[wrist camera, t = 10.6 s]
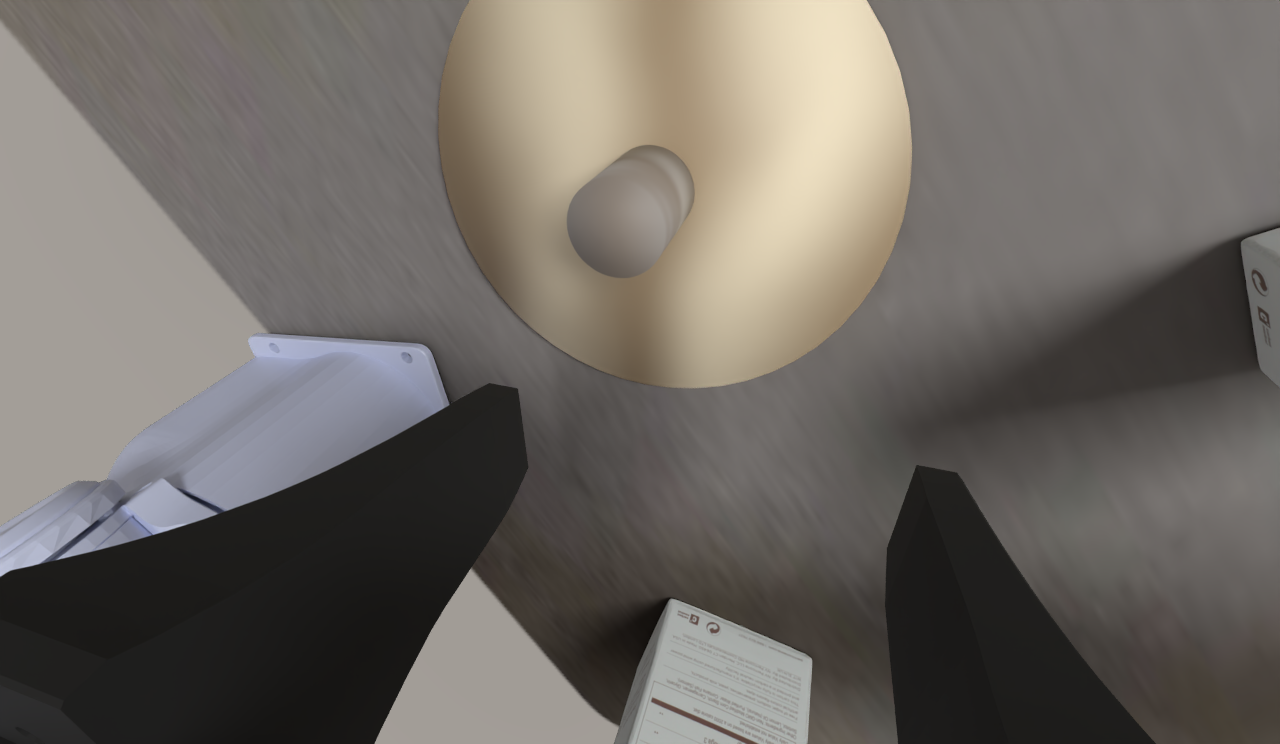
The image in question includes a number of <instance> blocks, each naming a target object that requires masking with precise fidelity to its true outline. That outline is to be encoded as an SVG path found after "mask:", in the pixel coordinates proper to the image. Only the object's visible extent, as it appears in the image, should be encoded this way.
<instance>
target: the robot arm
mask: <svg viewBox="0 0 1280 744" xmlns="http://www.w3.org/2000/svg"><path fill="white" fill-rule="evenodd" d="M248 343H249V346H250V348H251V350H252V352H253V354H254V355H255V358H253V359H252V360H250V361H249V362H247V363H246V364H244V365H243V366H241V367H240V368H238V369H237V370H235V371H233V372H232V373H230V374H229V375H227V376H226V377H224V378H223V379H221V380H220V381H218V382H217V383H215V384H213V385H212V386H210V387H209V388H207V389H206V390H204V391H203V392H201V393H200V394H198V395H196V396H195V397H193V398H192V399H190V400H189V401H187V402H186V403H184V404H183V405H181V406H180V407H178V408H176V409H175V410H173V411H172V412H170V413H169V414H167V415H166V416H164V417H163V418H161V419H160V420H158V421H156V422H155V423H153V424H152V425H150V426H149V427H147V428H146V429H144V430H143V431H142V432H141V433H139V434H138V435H137V436H136V437H134V438H133V439H132V440H131V441H130V442H129V443H128V445H127V446H126V447H125V448H124V449H123V451H122V452H121V453H120V455H119V456H118V458H117V460H116V461H115V463H114V465H113V467H112V469H111V471H110V473H109V475H108V478H107V480H104V481H101V482H99V483H98V482H96V481H76V482H74V483H72V484H70V485H68V486H66V487H64V488H62V489H61V490H59V491H57V492H55V493H54V494H52V495H50V496H48V497H47V498H45V499H43V500H42V501H40V502H38V503H37V504H35V505H34V506H32V507H30V508H29V509H27V510H25V511H24V512H22V513H21V514H19V515H17V516H16V517H14V518H13V519H11V520H9V521H8V522H6V523H5V524H3V525H1V526H0V744H374V743H375V741H376V739H377V736H378V734H379V732H380V730H381V728H382V726H383V724H384V722H385V720H386V718H387V716H388V714H389V712H390V710H391V708H392V706H393V704H394V702H395V700H396V698H397V696H398V694H399V691H400V690H401V688H402V685H403V683H404V681H405V679H406V677H407V675H408V673H409V672H410V670H411V668H412V666H413V664H414V662H415V660H416V658H417V656H418V654H419V653H420V651H421V649H422V647H423V645H424V643H425V641H426V639H427V637H428V635H429V633H430V632H431V630H432V628H433V626H434V625H435V623H436V621H437V620H438V618H439V616H440V615H441V613H442V611H443V610H444V608H445V606H446V605H447V603H448V602H449V600H450V599H451V597H452V596H453V594H454V593H455V591H456V590H457V588H458V587H459V585H460V584H461V582H462V581H463V579H464V578H465V576H466V575H467V573H468V572H469V570H470V569H471V567H472V566H473V564H474V562H475V561H476V559H477V558H478V556H479V555H480V553H481V552H482V550H483V549H484V547H485V546H486V544H487V543H488V541H489V540H490V538H491V537H492V535H493V533H494V532H495V530H496V529H497V527H498V526H499V524H500V523H501V521H502V519H503V518H504V516H505V515H506V513H507V511H508V509H509V507H510V505H511V503H512V501H513V499H514V497H515V495H516V493H517V491H518V489H519V487H520V485H521V482H522V480H523V478H524V476H525V474H526V472H527V469H528V461H527V454H526V447H525V439H524V432H523V424H522V417H521V409H520V402H519V394H518V389H517V388H512V387H506V386H501V385H496V384H491V383H489V384H487V385H485V386H483V387H481V388H479V389H477V390H475V391H473V392H472V393H470V394H468V395H466V396H464V397H463V398H461V399H459V400H457V401H455V402H454V403H452V404H450V405H449V402H448V399H447V396H446V393H445V390H444V387H443V384H442V381H441V378H440V375H439V372H438V369H437V367H436V364H435V361H434V358H433V355H432V353H431V351H430V350H429V349H428V348H427V347H426V346H424V345H422V344H418V343H403V342H387V341H372V340H357V339H342V338H327V337H311V336H296V335H281V334H266V333H256V334H254V335H252V336H251V337H250V338H249V339H248ZM408 354H410V355H411V357H410V356H409V355H408ZM885 607H886V619H887V630H888V641H889V652H890V662H891V673H892V683H893V693H894V704H895V714H896V725H897V735H898V744H1156V743H1155V742H1154V741H1153V740H1152V739H1151V738H1150V737H1149V736H1148V735H1147V733H1146V732H1145V731H1144V730H1143V729H1142V728H1141V727H1140V726H1139V724H1138V723H1137V722H1136V721H1135V720H1134V719H1133V717H1132V716H1131V715H1130V714H1129V713H1128V712H1127V710H1126V709H1125V708H1124V707H1123V706H1122V705H1121V703H1120V702H1119V701H1118V700H1117V699H1116V698H1115V697H1114V695H1113V694H1112V693H1111V692H1110V691H1109V690H1108V688H1107V687H1106V686H1105V685H1104V684H1103V683H1102V681H1101V680H1100V679H1099V678H1098V677H1097V675H1096V674H1095V673H1094V672H1093V670H1092V669H1091V668H1090V667H1089V665H1088V664H1087V663H1086V662H1085V660H1084V659H1083V658H1082V657H1081V655H1080V654H1079V653H1078V651H1077V650H1076V649H1075V648H1074V646H1073V645H1072V644H1071V642H1070V641H1069V640H1068V638H1067V637H1066V636H1065V634H1064V633H1063V632H1062V630H1061V629H1060V628H1059V626H1058V625H1057V624H1056V622H1055V621H1054V620H1053V618H1052V617H1051V616H1050V614H1049V613H1048V611H1047V610H1046V609H1045V607H1044V606H1043V604H1042V603H1041V602H1040V600H1039V599H1038V597H1037V596H1036V595H1035V593H1034V592H1033V590H1032V589H1031V587H1030V586H1029V584H1028V583H1027V581H1026V580H1025V578H1024V577H1023V575H1022V574H1021V573H1020V571H1019V570H1018V568H1017V567H1016V565H1015V564H1014V562H1013V561H1012V559H1011V558H1010V556H1009V555H1008V553H1007V552H1006V550H1005V549H1004V547H1003V546H1002V544H1001V542H1000V541H999V539H998V538H997V536H996V534H995V533H994V531H993V530H992V528H991V526H990V525H989V523H988V522H987V520H986V518H985V517H984V515H983V514H982V512H981V510H980V509H979V507H978V505H977V504H976V502H975V500H974V499H973V497H972V495H971V494H970V492H969V490H968V489H967V487H966V485H965V484H964V482H963V481H962V479H961V478H960V476H959V475H958V474H957V473H955V472H950V471H945V470H940V469H935V468H929V467H924V466H919V465H917V466H916V468H915V471H914V474H913V477H912V480H911V482H910V485H909V488H908V491H907V494H906V497H905V499H904V502H903V505H902V508H901V511H900V513H899V516H898V519H897V522H896V525H895V527H894V530H893V533H892V536H891V539H890V541H889V544H888V547H887V564H886V598H885Z"/></svg>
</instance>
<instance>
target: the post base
mask: <svg viewBox="0 0 1280 744" xmlns="http://www.w3.org/2000/svg"><path fill="white" fill-rule="evenodd" d="M438 138H439V147H440V156H441V165H442V171H443V175H444V180H445V184H446V189H447V193H448V197H449V200H450V203H451V206H452V209H453V212H454V215H455V218H456V221H457V223H458V226H459V228H460V230H461V232H462V234H463V237H464V239H465V241H466V243H467V245H468V248H469V249H470V251H471V253H472V255H473V256H474V258H475V260H476V262H477V263H478V265H479V267H480V268H481V270H482V272H483V273H484V275H485V276H486V277H487V279H488V280H489V281H490V283H491V284H492V286H493V287H494V288H495V290H496V291H497V293H498V294H499V295H500V296H501V297H502V298H503V299H504V301H505V302H506V303H507V304H508V305H509V306H510V307H511V309H512V310H513V311H514V312H515V313H516V314H517V315H518V316H519V317H520V318H521V319H522V320H524V321H525V322H526V323H527V324H528V325H529V326H530V327H531V328H532V329H533V330H534V331H536V332H537V333H538V334H540V335H541V336H542V337H544V338H545V339H546V340H547V341H549V342H550V343H551V344H553V345H554V346H556V347H557V348H559V349H560V350H562V351H564V352H565V353H567V354H569V355H570V356H572V357H573V358H575V359H577V360H579V361H581V362H583V363H585V364H587V365H589V366H591V367H593V368H596V369H598V370H600V371H603V372H606V373H608V374H611V375H614V376H617V377H619V378H622V379H626V380H630V381H634V382H638V383H642V384H647V385H654V386H662V387H669V388H705V387H716V386H724V385H728V384H733V383H738V382H743V381H747V380H750V379H753V378H756V377H759V376H762V375H765V374H768V373H771V372H773V371H775V370H777V369H779V368H781V367H783V366H785V365H787V364H789V363H791V362H794V361H795V360H797V359H799V358H800V357H802V356H803V355H805V354H806V353H808V352H809V351H811V350H812V349H814V348H816V347H817V346H819V345H820V344H821V343H822V342H823V341H824V340H826V339H827V338H828V337H829V336H830V335H832V334H833V333H834V332H835V331H836V330H837V329H839V328H840V327H841V326H842V325H843V323H844V322H845V321H846V320H847V319H848V318H849V317H850V316H851V315H852V314H853V312H854V311H855V310H856V309H857V308H858V307H859V306H860V305H861V303H862V302H863V300H864V299H865V297H866V296H867V294H868V293H869V292H870V290H871V289H872V287H873V286H874V284H875V283H876V281H877V280H878V278H879V276H880V274H881V272H882V270H883V268H884V266H885V264H886V262H887V260H888V258H889V256H890V254H891V252H892V250H893V247H894V244H895V241H896V239H897V236H898V233H899V230H900V227H901V224H902V221H903V218H904V213H905V208H906V203H907V198H908V193H909V188H910V177H911V160H912V140H911V128H910V116H909V108H908V104H907V99H906V95H905V91H904V86H903V82H902V77H901V73H900V70H899V67H898V65H897V62H896V60H895V57H894V54H893V52H892V49H891V47H890V44H889V41H888V39H887V36H886V34H885V32H884V30H883V28H882V26H881V25H880V23H879V21H878V19H877V18H876V16H875V14H874V12H873V11H872V9H871V7H870V5H869V3H868V2H867V0H470V1H469V3H468V5H467V7H466V8H465V10H464V12H463V14H462V16H461V18H460V21H459V23H458V26H457V28H456V31H455V34H454V36H453V39H452V41H451V44H450V47H449V51H448V55H447V59H446V63H445V67H444V71H443V75H442V83H441V91H440V99H439V125H438Z"/></svg>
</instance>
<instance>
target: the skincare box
mask: <svg viewBox="0 0 1280 744" xmlns="http://www.w3.org/2000/svg"><path fill="white" fill-rule="evenodd" d="M1241 253H1242V259H1243V266H1244V272H1245V278H1246V286H1247V292H1248V297H1249V303H1250V310H1251V318H1252V324H1253V332H1254V337H1255V343H1256V349H1257V357H1258V362H1259V366H1260V369H1261V371H1262V372H1263V373H1264V374H1265V375H1266V376H1267V377H1268V378H1270V379H1271V380H1272V381H1273V382H1274V383H1275V384H1276V385H1278V386H1279V387H1280V228H1277V229H1274V230H1271V231H1268V232H1264V233H1261V234H1258V235H1254V236H1251V237H1248V238H1246V239H1244V240H1243V241H1242V242H1241Z"/></svg>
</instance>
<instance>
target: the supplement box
mask: <svg viewBox="0 0 1280 744" xmlns="http://www.w3.org/2000/svg"><path fill="white" fill-rule="evenodd" d="M811 673H812V659H811V658H810V657H809V656H808V655H807V654H805V653H803V652H800V651H798V650H795V649H793V648H791V647H789V646H787V645H784V644H782V643H779V642H777V641H774V640H772V639H770V638H768V637H765V636H763V635H760V634H758V633H756V632H753V631H751V630H749V629H746V628H744V627H742V626H739V625H737V624H735V623H732V622H730V621H728V620H725V619H723V618H720V617H718V616H716V615H713V614H711V613H708V612H706V611H703V610H701V609H699V608H696V607H694V606H691V605H689V604H686V603H684V602H681V601H679V600H676V599H670V600H669V601H668V603H667V605H666V607H665V609H664V611H663V613H662V615H661V617H660V619H659V621H658V623H657V625H656V627H655V629H654V631H653V634H652V636H651V638H650V640H649V642H648V645H647V647H646V649H645V652H644V654H643V656H642V658H641V660H640V663H639V665H638V667H637V671H636V674H635V678H634V681H633V684H632V687H631V690H630V694H629V697H628V700H627V703H626V707H625V710H624V713H623V716H622V720H621V723H620V726H619V730H618V733H617V736H616V739H615V742H614V744H807V739H808V722H809V706H810V686H811Z"/></svg>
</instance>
